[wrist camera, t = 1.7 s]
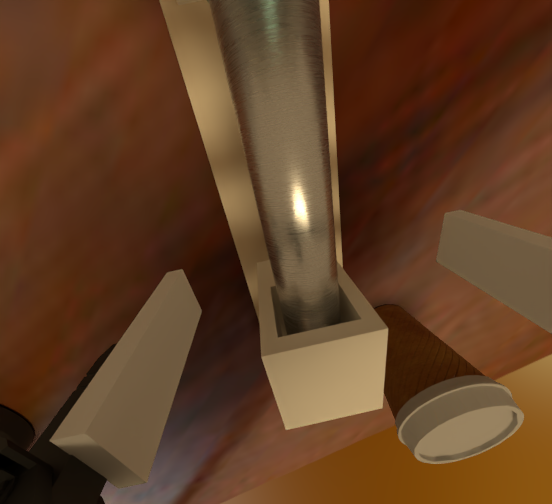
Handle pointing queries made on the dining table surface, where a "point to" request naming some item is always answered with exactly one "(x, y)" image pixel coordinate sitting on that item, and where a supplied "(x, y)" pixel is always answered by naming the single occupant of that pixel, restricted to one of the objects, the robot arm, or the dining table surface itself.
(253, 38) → the tube
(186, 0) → the socket
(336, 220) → the board
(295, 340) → the sleeve
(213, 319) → the dining table surface
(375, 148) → the dining table surface
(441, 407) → the disposable coffee cup
